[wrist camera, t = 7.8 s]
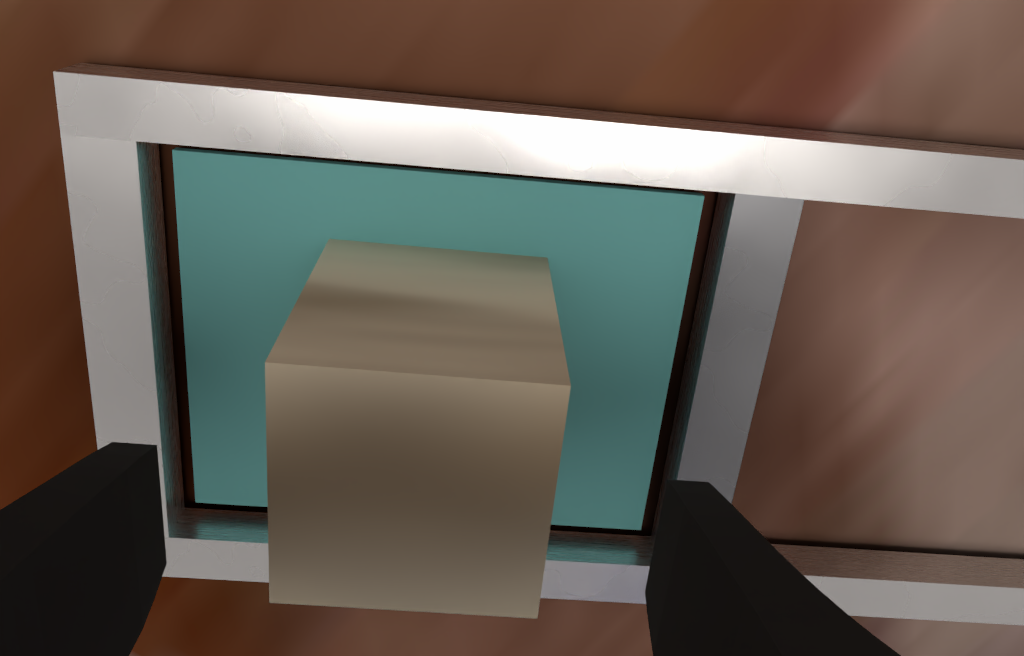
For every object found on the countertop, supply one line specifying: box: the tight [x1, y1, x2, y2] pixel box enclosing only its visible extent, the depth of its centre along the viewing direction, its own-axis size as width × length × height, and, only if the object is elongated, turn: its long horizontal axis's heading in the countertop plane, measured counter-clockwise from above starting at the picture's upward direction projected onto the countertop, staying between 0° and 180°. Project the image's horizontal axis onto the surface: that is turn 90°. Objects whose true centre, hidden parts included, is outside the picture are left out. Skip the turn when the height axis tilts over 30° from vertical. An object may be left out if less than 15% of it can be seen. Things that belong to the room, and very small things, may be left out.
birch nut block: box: [265, 239, 571, 619], centre depth 14 cm, size 4×4×5 cm
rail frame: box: [53, 63, 1024, 625], centre depth 17 cm, size 10×24×1 cm, turn 85°
